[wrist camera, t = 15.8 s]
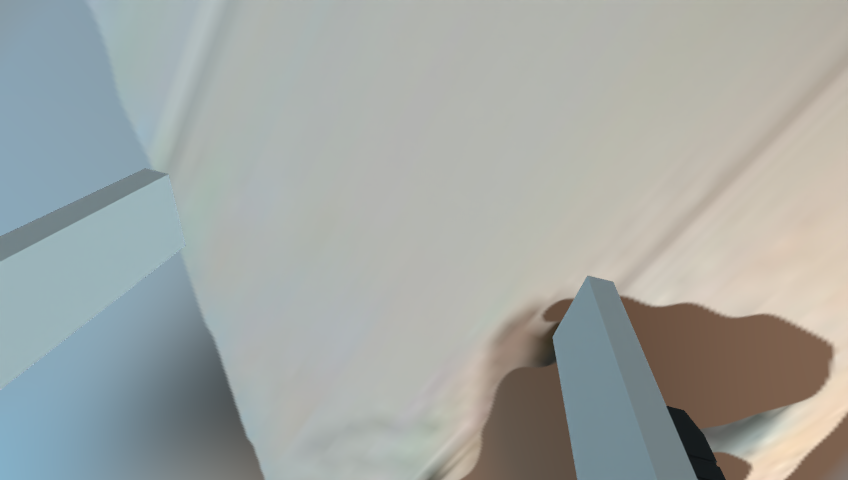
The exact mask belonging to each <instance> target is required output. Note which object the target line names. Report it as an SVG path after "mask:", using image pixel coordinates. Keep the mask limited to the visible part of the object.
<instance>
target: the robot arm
mask: <svg viewBox="0 0 848 480" xmlns="http://www.w3.org/2000/svg"><path fill="white" fill-rule="evenodd" d="M184 246H186V244H185V240H184V236H183V232H182V228H181V224H180V220H179V215H178V211H177V207H176V203H175V199H174V195H173V191H172V187H171V183H170V178H169V174H166V173H162V172H158V171H154V170H149V169H143V170H141V171H139V172H137V173H134V174H132V175H130V176H128V177H126V178H124V179H122V180H119V181H117V182H115V183H113V184H111V185H109V186H107V187H104V188H102V189H100V190H98V191H96V192H94V193H92V194H90V195H88V196H85V197H83V198H81V199H79V200H77V201H75V202H73V203H70V204H68V205H67V206H64V207H62V208H60V209H58V210H55V211H54V212H51V213H49V214H47V215H45V216H43V217H41V218H38V219H36V220H34V221H32V222H30V223H28V224H26V225H24V226H21V227H20V228H17V229H15V230H13V231H11V232H9V233H6V234H4V235H2V236H0V390H1V389H2V388H4V387H5V386H6V385H8V384H9V383H10V382H11V381H13V380H14V379H15V378H17V377H18V376H19V375H20V374H22V373H23V372H24V371H25V370H27V369H28V368H29V367H31V366H32V365H33V364H35V363H36V362H37V361H38V360H40V359H41V358H42V357H43V356H45V355H46V354H47V353H49V352H50V351H51V350H52V349H54V348H55V347H56V346H58V345H59V344H60V343H61V342H63V341H64V340H65V339H67V338H68V337H69V336H70V335H72V334H73V333H74V332H76V331H77V330H78V329H79V328H81V327H82V326H83V325H84V324H86V323H87V322H88V321H90V320H91V319H92V318H93V317H95V316H96V315H97V314H99V313H100V312H101V311H102V310H104V309H105V308H106V307H108V306H109V305H110V304H111V303H113V302H114V301H115V300H117V299H118V298H119V297H120V296H122V295H123V294H124V293H125V292H127V291H128V290H129V289H131V288H132V287H133V286H134V285H136V284H137V283H138V282H140V281H141V280H142V279H143V278H145V277H146V276H147V275H149V274H150V273H151V272H152V271H154V270H155V269H156V268H157V267H159V266H160V265H161V264H163V263H164V262H165V261H167V260H168V259H169V258H170V257H171V256H173V255H174V254H175V253H177V252H178V251H179V250H181V249H182V248H183V247H184ZM553 342H554V348H555V353H556V359H557V364H558V370H559V376H560V382H561V388H562V393H563V399H564V405H565V411H566V416H567V422H568V428H569V434H570V439H571V445H572V451H573V457H574V462H575V468H576V474H577V479H578V480H726V479H725V477H724V475H723V473H722V471H721V469H720V467H718V466H717V465H716V462H717V461H716V459H715V457H714V455H713V453H712V450H711V448H710V446H709V444H708V442H707V440H706V438H705V436H704V434H703V433H702V432H701V431H700V429H699V428H698V427H697V426H696V425H695V423H694V422H693V421H692V420H691V419H690V417H689V416H688V415H687V413H686V412H685V411H684V410H681V409H677V408H672V407H669V406H666V404H665V402H664V400H663V397H662V395H661V393H660V390H659V388H658V386H657V383H656V381H655V379H654V376H653V374H652V372H651V370H650V367H649V365H648V362H647V360H646V358H645V355H644V353H643V351H642V348H641V346H640V343H639V341H638V339H637V337H636V334H635V332H634V329H633V327H632V325H631V322H630V320H629V318H628V315H627V313H626V311H625V309H624V306H623V304H622V301H621V299H620V297H619V294H618V292H617V290H616V287H615V285H614V283H613V282H612V281H608V280H604V279H599V278H595V277H591V276H587V277H586V279H585V281H584V283H583V285H582V286H581V288H580V290H579V292H578V293H577V295H576V297H575V299H574V300H573V302H572V304H571V306H570V307H569V309H568V311H567V313H566V314H565V316H564V318H563V320H562V321H561V323H560V325H559V327H558V328H557V330H556V332H555V334H554V335H553Z"/></svg>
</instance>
